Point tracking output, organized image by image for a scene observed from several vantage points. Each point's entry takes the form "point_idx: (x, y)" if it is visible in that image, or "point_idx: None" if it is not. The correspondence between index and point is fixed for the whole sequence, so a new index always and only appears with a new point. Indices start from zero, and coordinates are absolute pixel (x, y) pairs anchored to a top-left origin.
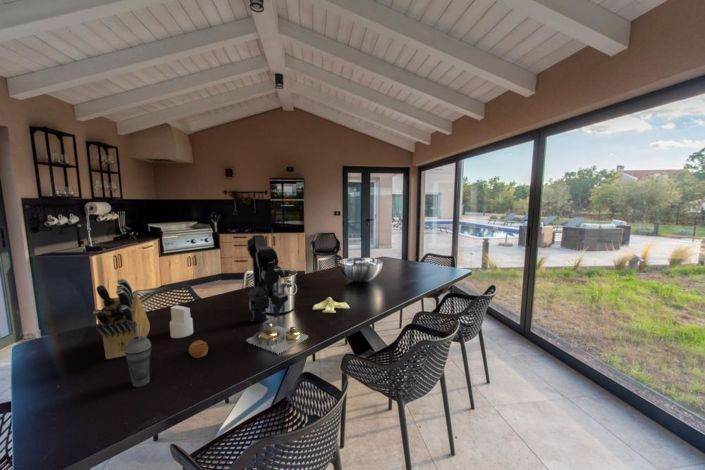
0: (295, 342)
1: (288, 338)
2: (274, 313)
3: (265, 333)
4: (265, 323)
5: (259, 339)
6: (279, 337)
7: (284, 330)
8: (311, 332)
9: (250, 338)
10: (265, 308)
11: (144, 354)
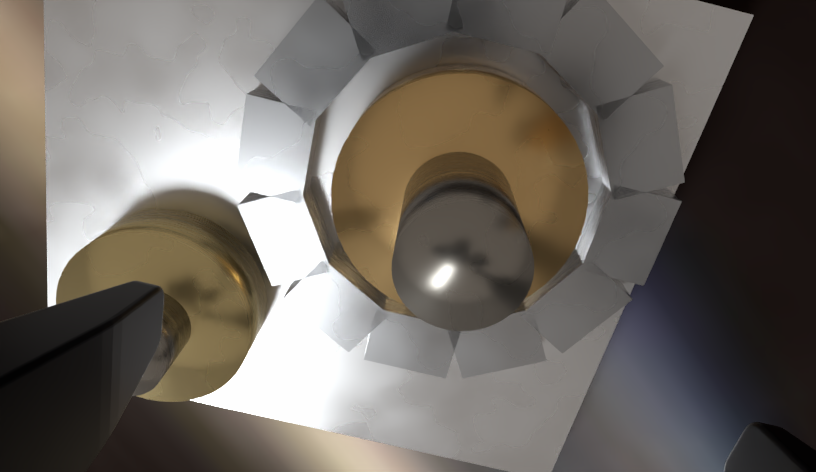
0: (48, 176)
1: (167, 216)
2: (52, 330)
3: (486, 161)
4: (531, 269)
5: (510, 21)
6: (269, 180)
7: (387, 401)
8: (132, 464)
9: (706, 66)
10: None
11: None
